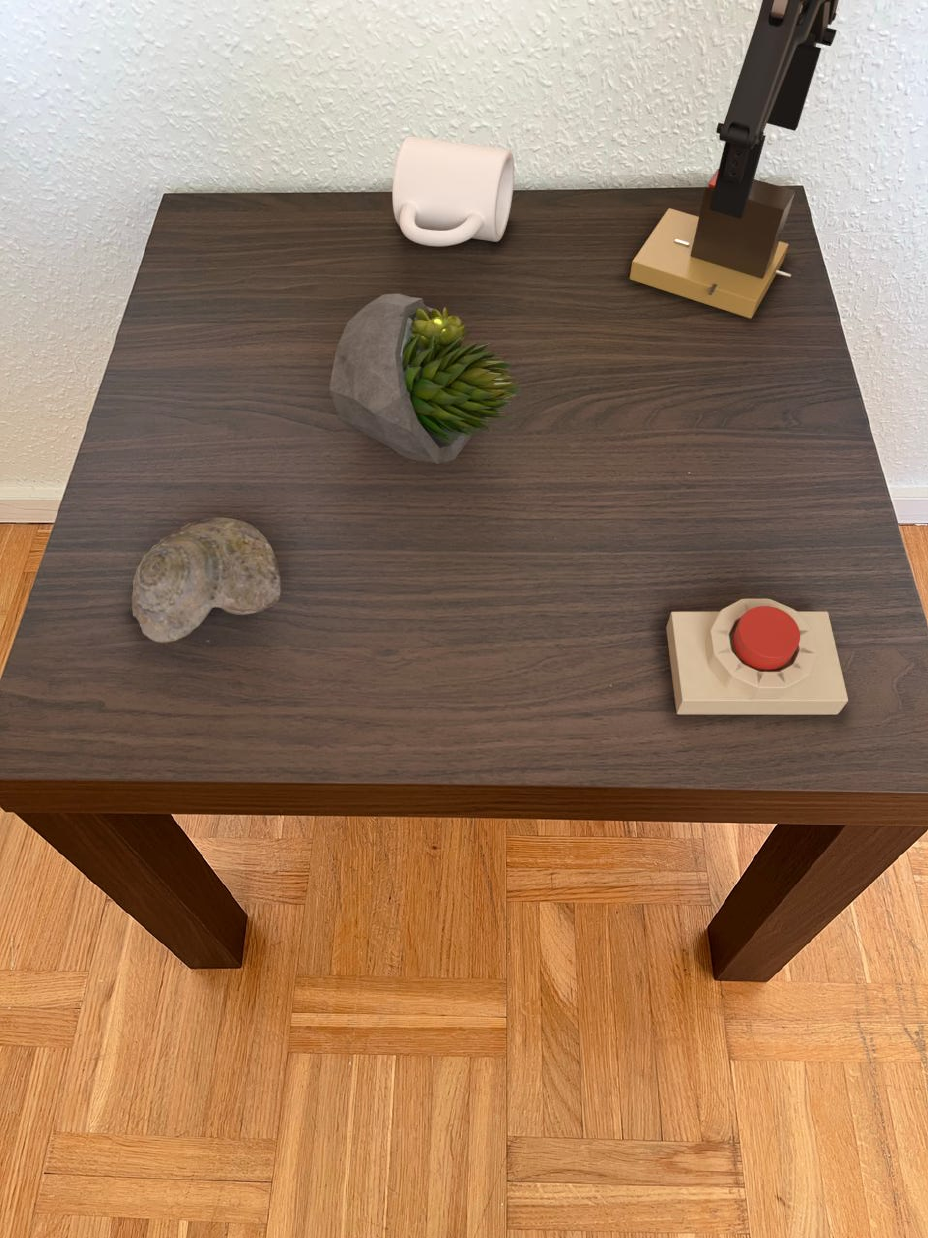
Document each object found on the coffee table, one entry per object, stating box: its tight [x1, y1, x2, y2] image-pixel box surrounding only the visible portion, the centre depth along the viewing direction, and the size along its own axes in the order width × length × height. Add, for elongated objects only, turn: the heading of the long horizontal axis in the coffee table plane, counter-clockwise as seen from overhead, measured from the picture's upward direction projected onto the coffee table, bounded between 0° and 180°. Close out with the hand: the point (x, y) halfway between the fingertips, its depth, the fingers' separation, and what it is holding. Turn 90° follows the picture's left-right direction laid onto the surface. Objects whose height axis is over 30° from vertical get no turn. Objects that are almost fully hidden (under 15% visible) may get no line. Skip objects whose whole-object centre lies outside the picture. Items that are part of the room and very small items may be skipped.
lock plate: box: [629, 207, 792, 320], centre depth 85 cm, size 14×11×2 cm
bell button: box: [733, 606, 800, 670], centre depth 60 cm, size 4×4×2 cm
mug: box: [391, 135, 515, 247], centre depth 86 cm, size 12×10×8 cm
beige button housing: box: [665, 598, 849, 716], centre depth 63 cm, size 11×7×4 cm, turn 89°
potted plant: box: [328, 293, 522, 464], centre depth 72 cm, size 12×13×15 cm
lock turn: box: [690, 168, 796, 279], centre depth 81 cm, size 7×3×7 cm, turn 61°
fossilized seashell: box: [131, 516, 283, 644], centre depth 66 cm, size 11×11×7 cm
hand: (754, 166), depth 77 cm, fingers open, 13 cm apart
